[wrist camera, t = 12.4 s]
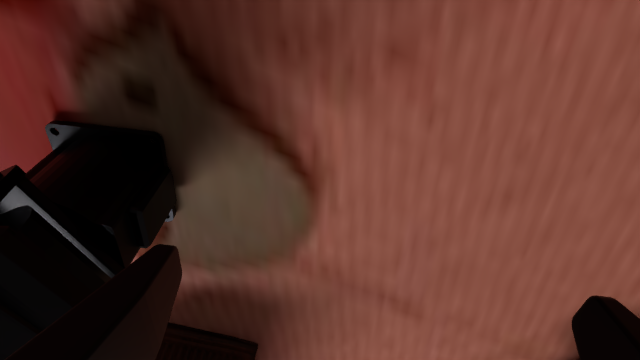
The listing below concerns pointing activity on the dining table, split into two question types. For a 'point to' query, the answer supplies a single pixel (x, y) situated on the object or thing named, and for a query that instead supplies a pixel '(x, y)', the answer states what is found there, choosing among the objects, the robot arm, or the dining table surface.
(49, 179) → the robot arm
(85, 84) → the dining table surface
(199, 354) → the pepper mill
